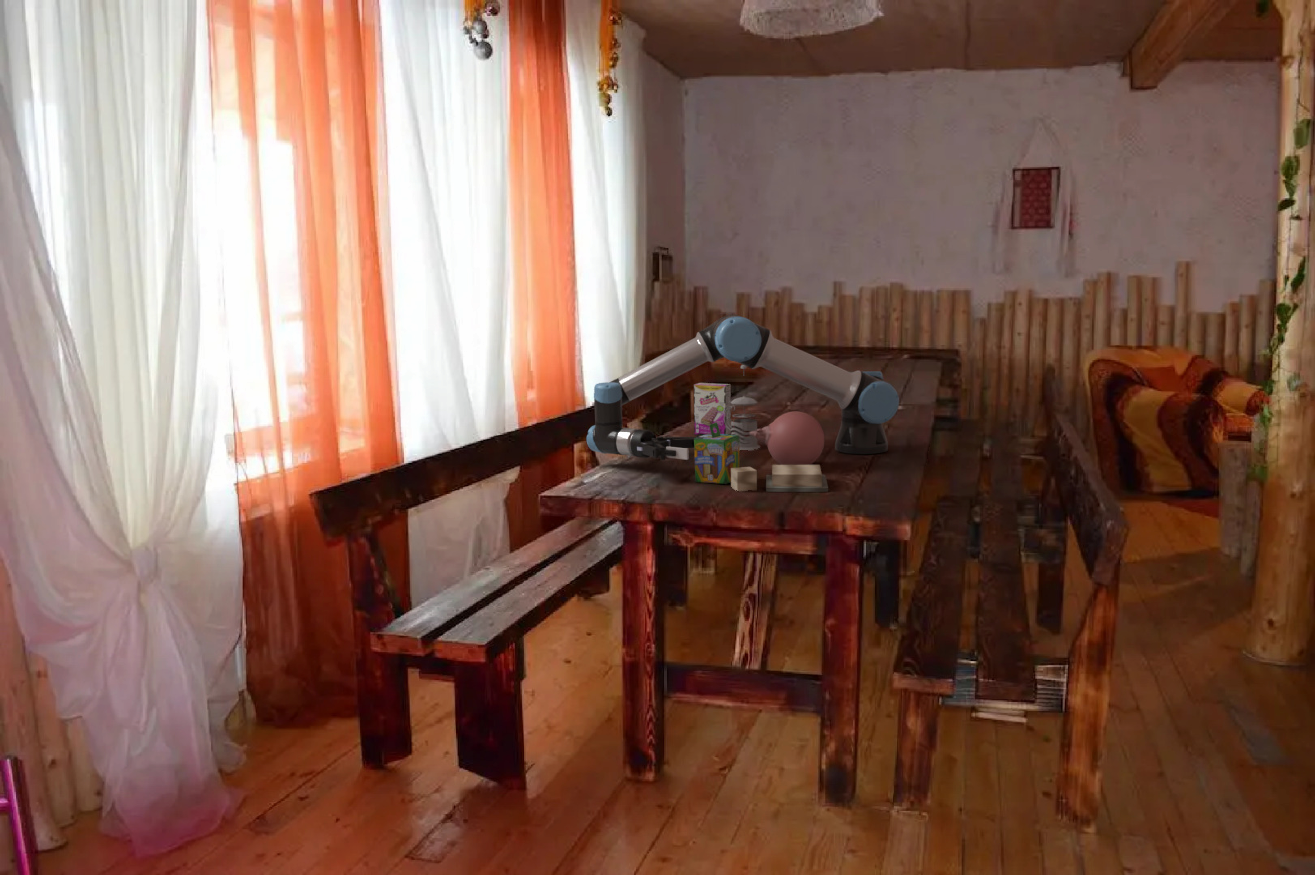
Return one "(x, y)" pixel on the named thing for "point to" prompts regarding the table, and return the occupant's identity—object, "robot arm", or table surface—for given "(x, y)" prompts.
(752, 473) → the birch block
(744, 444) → the french press
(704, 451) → the chalk box
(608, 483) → the table surface
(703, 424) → the candy bar box
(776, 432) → the balloon
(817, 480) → the plinth
